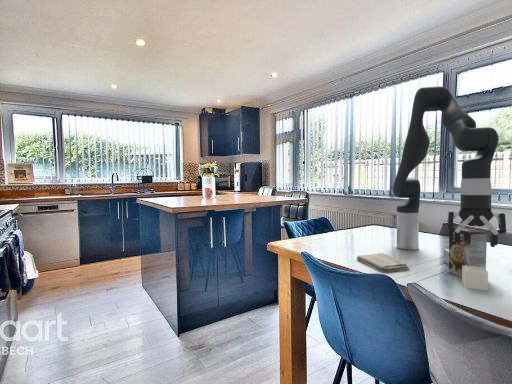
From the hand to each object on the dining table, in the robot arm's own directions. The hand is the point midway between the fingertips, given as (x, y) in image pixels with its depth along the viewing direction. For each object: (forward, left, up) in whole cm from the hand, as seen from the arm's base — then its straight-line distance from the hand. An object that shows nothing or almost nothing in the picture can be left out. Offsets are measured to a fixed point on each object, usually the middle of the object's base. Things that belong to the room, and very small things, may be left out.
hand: (475, 245), depth 88 cm
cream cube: (0, 0, -13) cm, 13 cm away
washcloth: (-28, +12, -14) cm, 33 cm away
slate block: (-3, +24, -13) cm, 27 cm away
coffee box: (-1, +10, -13) cm, 16 cm away
